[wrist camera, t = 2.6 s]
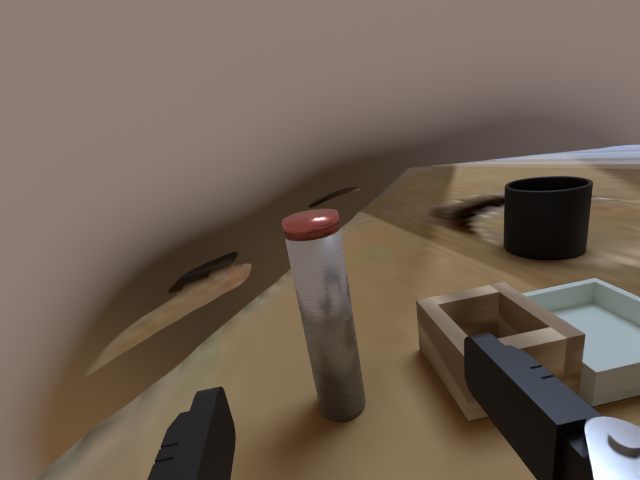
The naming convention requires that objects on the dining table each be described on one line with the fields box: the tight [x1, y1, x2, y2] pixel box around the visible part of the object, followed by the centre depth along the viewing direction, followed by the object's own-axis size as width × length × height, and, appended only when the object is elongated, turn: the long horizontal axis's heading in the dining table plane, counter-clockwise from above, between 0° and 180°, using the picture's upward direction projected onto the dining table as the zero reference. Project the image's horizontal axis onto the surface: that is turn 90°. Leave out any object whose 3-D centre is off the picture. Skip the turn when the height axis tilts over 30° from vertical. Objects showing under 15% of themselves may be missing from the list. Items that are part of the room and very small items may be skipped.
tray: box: [522, 278, 640, 407], centre depth 26 cm, size 10×10×3 cm
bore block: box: [416, 282, 586, 421], centre depth 25 cm, size 8×8×5 cm
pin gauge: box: [282, 209, 365, 422], centre depth 23 cm, size 4×4×15 cm
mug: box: [504, 176, 593, 259], centre depth 45 cm, size 9×12×9 cm
